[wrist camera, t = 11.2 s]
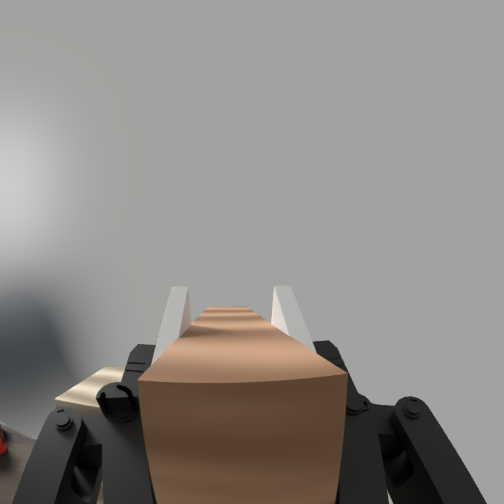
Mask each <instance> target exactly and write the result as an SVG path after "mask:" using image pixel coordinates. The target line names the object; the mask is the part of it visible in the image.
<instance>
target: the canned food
mask: <svg viewBox="0 0 504 504" xmlns="http://www.w3.org/2000/svg"><path fill="white" fill-rule="evenodd" d="M6 451H7V447H6V443H5V440H4V436H3V433H2V429H1V426H0V456H1V455H3V454H5V453H6Z"/></svg>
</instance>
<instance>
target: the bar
mask: <svg viewBox="0 0 504 504" xmlns="http://www.w3.org/2000/svg"><path fill="white" fill-rule="evenodd" d="M347 380H348V373H346V372H345V371H343V370H342V369H340V368H338V367H337V366H335V365H334V364H332V363H331V362H329V361H327V360H326V359H324V358H323V357H321V356H320V355H318V354H317V353H315V352H313V351H312V350H310V349H309V348H307V347H306V346H304V345H303V344H301V343H300V342H298V341H297V340H295V339H294V338H292V337H291V336H289V335H287V334H286V333H284V332H283V331H281V330H280V329H278V328H277V327H275V326H274V325H272V324H271V323H270V322H268V321H267V320H265V319H264V318H262V317H261V316H260V315H258V314H257V313H255V312H254V311H252V310H251V309H249V308H248V307H207V308H206V309H205V310H204V311H203V312H202V313H201V315H199V317H198V318H197V319H196V320H195V321H194V322H193V323H192V324H191V326H190V327H189V328H188V329H187V330H186V331H185V332H184V333H183V334H182V335H181V336H180V337H179V338H177V339H176V340H175V341H174V342H173V343H172V344H171V346H170V347H169V348H168V349H167V350H166V351H165V352H164V353H163V354H162V355H161V356H160V357H159V358H158V359H157V360H156V361H155V362H154V363H153V364H152V365H151V366H150V367H149V368H148V369H147V370H146V371H145V372H144V373H143V374H142V375H141V377H140V378H139V379H138V380H137V386H138V395H139V404H140V413H141V420H142V427H143V434H144V441H145V447H146V453H147V458H148V464H149V469H150V474H151V479H152V484H153V488H154V493H155V497H156V502H157V504H335V500H336V494H337V487H338V480H339V472H340V465H341V456H342V447H343V437H344V426H345V413H346V399H347Z"/></svg>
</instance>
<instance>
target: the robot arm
mask: <svg viewBox="0 0 504 504" xmlns="http://www.w3.org/2000/svg"><path fill="white" fill-rule="evenodd" d="M271 324H272V325H274V326H275V327H277V328H278V329H280V330H281V331H283V332H284V333H286V334H287V335H289V336H291V337H292V338H294V339H295V340H297V341H298V342H300V343H301V344H303V345H304V346H306V347H307V348H309V349H310V350H312V351H313V352H315V353H317V354H318V355H320V356H321V357H323V358H324V359H326V360H327V361H329V362H331V363H332V364H334V365H335V366H337V367H338V368H340V369H342V370H343V371H345V372H346V373H348V380H347V399H346V413H345V426H344V437H343V447H342V456H341V465H340V472H339V480H338V487H337V494H336V500H335V504H389V501H388V494H387V490H388V492H389V495H390V497H391V499H392V502H393V504H487V503H486V502H485V500H484V498H483V496H482V494H481V493H480V491H479V489H478V487H477V485H476V484H475V482H474V480H473V478H472V477H471V475H470V473H469V472H468V470H467V468H466V467H465V465H464V463H463V462H462V460H461V458H460V457H459V455H458V453H457V452H456V450H455V448H454V447H453V445H452V444H451V442H450V440H449V439H448V437H447V436H446V434H445V432H444V431H443V429H442V428H441V426H440V424H439V423H438V421H437V420H436V418H435V417H434V415H433V414H432V412H431V411H430V409H429V408H428V406H427V405H426V404H425V403H424V402H423V401H422V400H420V399H418V398H416V397H411V396H410V397H404V398H402V399H400V400H398V402H397V403H396V405H395V406H389V405H377V404H373V403H371V402H370V401H369V400H368V399H367V398H366V397H365V396H363V395H361V394H359V393H358V392H357V390H356V388H355V386H354V383H353V381H352V379H351V377H350V374H349V372H348V370H347V368H346V366H345V364H344V362H343V360H342V359H341V355H340V353H339V351H338V349H337V347H335V346H334V345H333V344H332V343H331V342H330V341H315V342H312V340H311V337H310V335H309V332H308V329H307V327H306V325H305V322H304V319H303V317H302V314H301V312H300V309H299V307H298V304H297V302H296V299H295V297H294V294H293V292H292V289H291V287H290V286H274V296H273V308H272V320H271ZM190 326H191V318H190V306H189V293H188V287H172V288H171V292H170V295H169V299H168V302H167V306H166V310H165V314H164V317H163V321H162V324H161V328H160V332H159V336H158V340H157V343H156V345H144V344H138V345H137V346H136V347H135V348H134V349H133V350H132V351H131V352H130V355H129V358H128V361H127V364H126V367H125V371H124V373H123V376H122V379H121V382H113V383H109V384H107V385H105V386H103V387H102V388H101V389H100V390H99V391H98V393H97V395H96V400H97V402H98V404H99V406H100V409H101V411H102V412H100V413H95V414H88V415H80V414H79V413H78V412H77V411H76V410H75V409H73V408H71V407H60V408H56V409H55V410H53V411H52V412H51V413H50V414H49V416H48V417H47V419H46V421H45V423H44V425H43V427H42V430H41V432H40V434H39V436H38V439H37V441H36V443H35V445H34V448H33V450H32V452H31V455H30V457H29V460H28V462H27V465H26V467H25V470H24V472H23V475H22V477H21V480H20V483H19V486H18V488H17V491H16V494H15V497H14V500H13V503H12V504H97V500H98V495H99V491H100V487H101V483H102V480H103V503H104V504H157V502H156V497H155V493H154V488H153V484H152V479H151V474H150V469H149V464H148V458H147V453H146V447H145V441H144V434H143V427H142V420H141V413H140V404H139V395H138V386H137V380H138V379H139V378H140V377H141V375H142V374H143V373H144V372H145V371H146V370H147V369H148V368H149V367H150V366H151V365H152V364H153V363H154V362H155V361H156V360H157V359H158V358H159V357H160V356H161V355H162V354H163V353H164V352H165V351H166V350H167V349H168V348H169V347H170V346H171V344H172V343H173V342H174V341H175V340H176V339H177V338H179V337H180V336H181V335H182V334H183V333H184V332H185V331H186V330H187V329H188V328H189V327H190Z"/></svg>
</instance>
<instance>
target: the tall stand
mask: <svg viewBox="0 0 504 504" xmlns="http://www.w3.org/2000/svg"><path fill="white" fill-rule="evenodd" d="M124 371H125V368H119V367H109V366H106V367H104V368H103V369H101V370H100V371H98V372H97V373H95V374H93V375H92V376H90V377H89V378H87V379H86V380H84V381H82V382H81V383H79V384H78V385H76V386H75V387H73V388H71V389H70V390H68V391H67V392H65V393H63V394H62V395H60V396H58V397H57V398H55V404H56V408H60V407H71V408H73V409H75V410H76V411H77V412H78V413H79V414H80V415H88V414H95V413H100V412H102V411H101V409H100V406H99V404H98V402H97V400H96V395H97V393H98V391H99V390H100V389H101V388H102V387H103V386H105V385H107V384H109V383H113V382H121V379H122V376H123V373H124ZM97 504H104V503H103V480H102V483H101V487H100V491H99V495H98V500H97Z"/></svg>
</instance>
